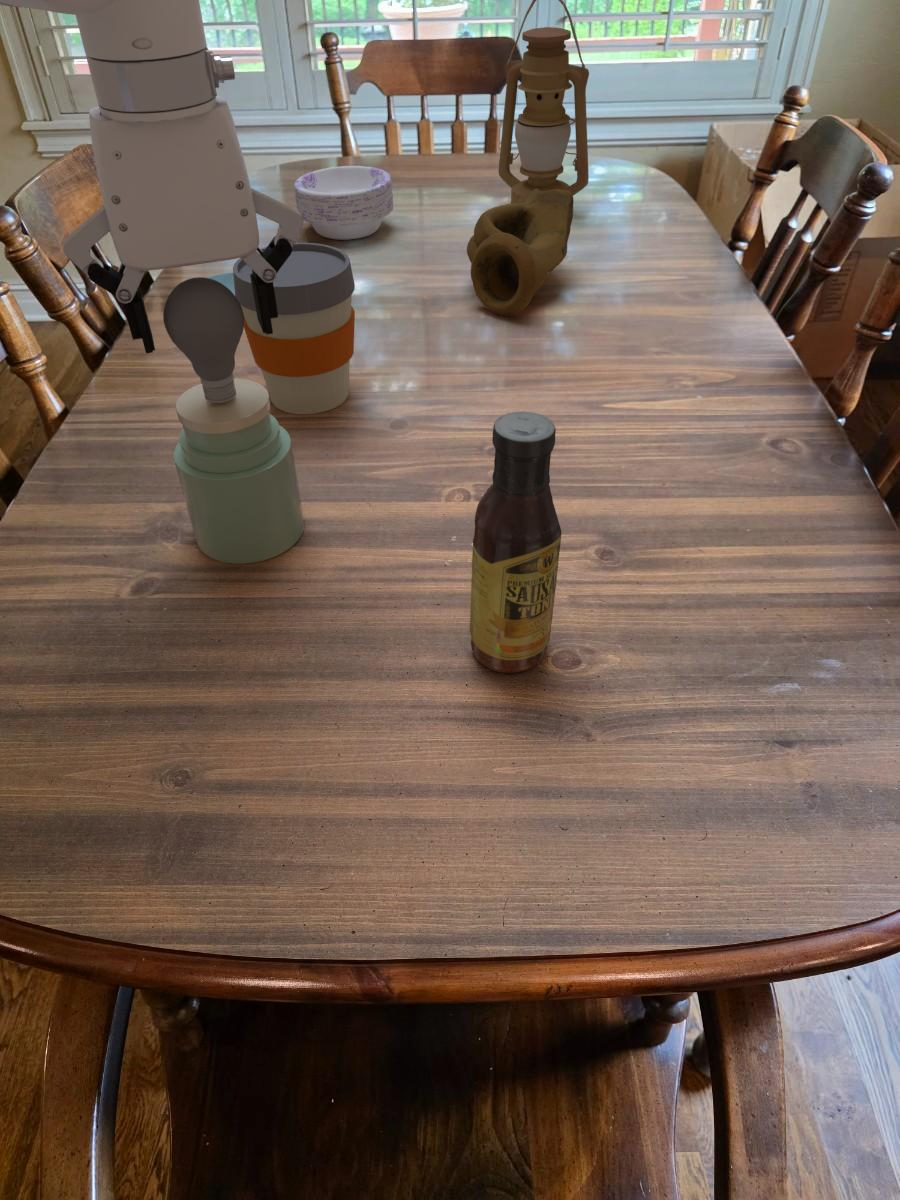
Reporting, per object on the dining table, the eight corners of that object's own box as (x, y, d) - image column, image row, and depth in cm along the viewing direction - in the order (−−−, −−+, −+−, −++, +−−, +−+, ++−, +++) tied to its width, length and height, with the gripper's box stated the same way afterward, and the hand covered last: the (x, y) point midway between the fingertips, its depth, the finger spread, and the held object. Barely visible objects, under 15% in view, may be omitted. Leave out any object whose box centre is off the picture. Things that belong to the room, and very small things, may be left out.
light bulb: (194, 382, 74) (167, 265, 67) (264, 382, 74) (243, 264, 67) (176, 418, 69) (144, 296, 63) (250, 418, 69) (226, 296, 63)
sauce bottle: (508, 690, 65) (517, 466, 52) (453, 647, 69) (448, 427, 55) (568, 649, 68) (591, 428, 55) (512, 609, 72) (521, 393, 59)
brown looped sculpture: (636, 220, 119) (551, 239, 104) (595, 303, 128) (511, 332, 113) (535, 153, 124) (441, 162, 109) (502, 238, 133) (410, 257, 118)
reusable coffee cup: (306, 359, 106) (289, 234, 96) (386, 386, 101) (377, 256, 91) (231, 402, 99) (204, 270, 89) (314, 434, 93) (294, 298, 83)
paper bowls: (292, 221, 143) (285, 169, 138) (381, 210, 147) (378, 159, 141) (309, 253, 132) (302, 198, 127) (405, 240, 136) (402, 187, 130)
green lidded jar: (173, 546, 79) (134, 415, 70) (239, 489, 86) (211, 362, 77) (263, 576, 76) (235, 442, 67) (324, 514, 82) (306, 384, 73)
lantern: (588, 202, 148) (605, -12, 128) (584, 223, 140) (602, -1, 120) (500, 199, 150) (504, -12, 130) (491, 219, 142) (494, -2, 122)
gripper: (276, 61, 61) (307, 301, 73) (14, 83, 57) (91, 334, 69) (297, 83, 56) (327, 338, 67) (10, 109, 52) (94, 376, 63)
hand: (208, 335), depth 68 cm, fingers open, 8 cm apart
